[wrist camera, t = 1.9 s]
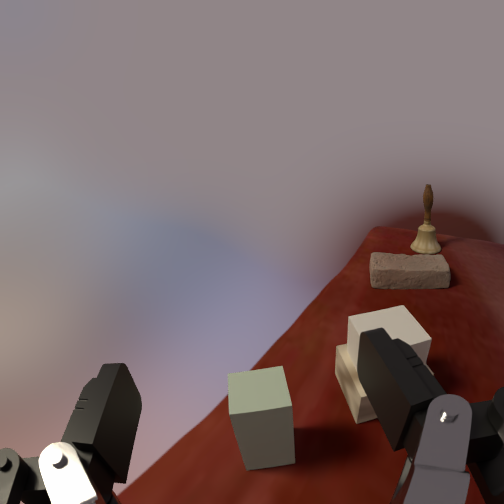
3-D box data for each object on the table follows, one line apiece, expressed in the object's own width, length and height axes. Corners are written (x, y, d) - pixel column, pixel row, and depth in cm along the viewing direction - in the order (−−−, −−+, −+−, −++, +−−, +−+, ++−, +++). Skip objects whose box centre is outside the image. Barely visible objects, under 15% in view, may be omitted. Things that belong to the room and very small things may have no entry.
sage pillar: (243, 434, 31) (227, 373, 27) (287, 428, 31) (282, 365, 27) (246, 470, 26) (229, 414, 22) (295, 463, 26) (291, 405, 23)
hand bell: (405, 243, 74) (406, 182, 68) (432, 241, 73) (434, 181, 67) (418, 256, 66) (421, 189, 61) (446, 252, 66) (450, 188, 60)
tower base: (335, 374, 38) (336, 346, 36) (395, 359, 38) (400, 330, 36) (356, 425, 30) (361, 397, 28) (424, 402, 30) (433, 374, 28)
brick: (441, 271, 58) (443, 251, 57) (450, 290, 51) (453, 268, 49) (369, 271, 64) (369, 251, 62) (370, 291, 57) (370, 268, 55)
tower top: (346, 350, 35) (348, 316, 33) (398, 338, 35) (403, 305, 33) (365, 390, 29) (370, 355, 27) (422, 374, 29) (431, 339, 27)
